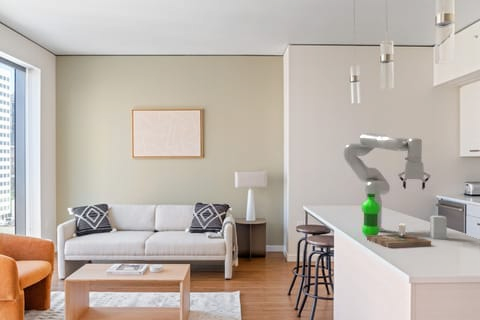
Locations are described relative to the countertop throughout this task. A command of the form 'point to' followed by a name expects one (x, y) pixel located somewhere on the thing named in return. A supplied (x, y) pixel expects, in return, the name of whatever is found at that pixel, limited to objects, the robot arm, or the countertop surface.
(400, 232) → the white piece
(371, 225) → the plastic bottle
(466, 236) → the countertop surface
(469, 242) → the countertop surface
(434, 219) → the supplement box
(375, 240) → the tuner board
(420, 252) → the countertop surface
